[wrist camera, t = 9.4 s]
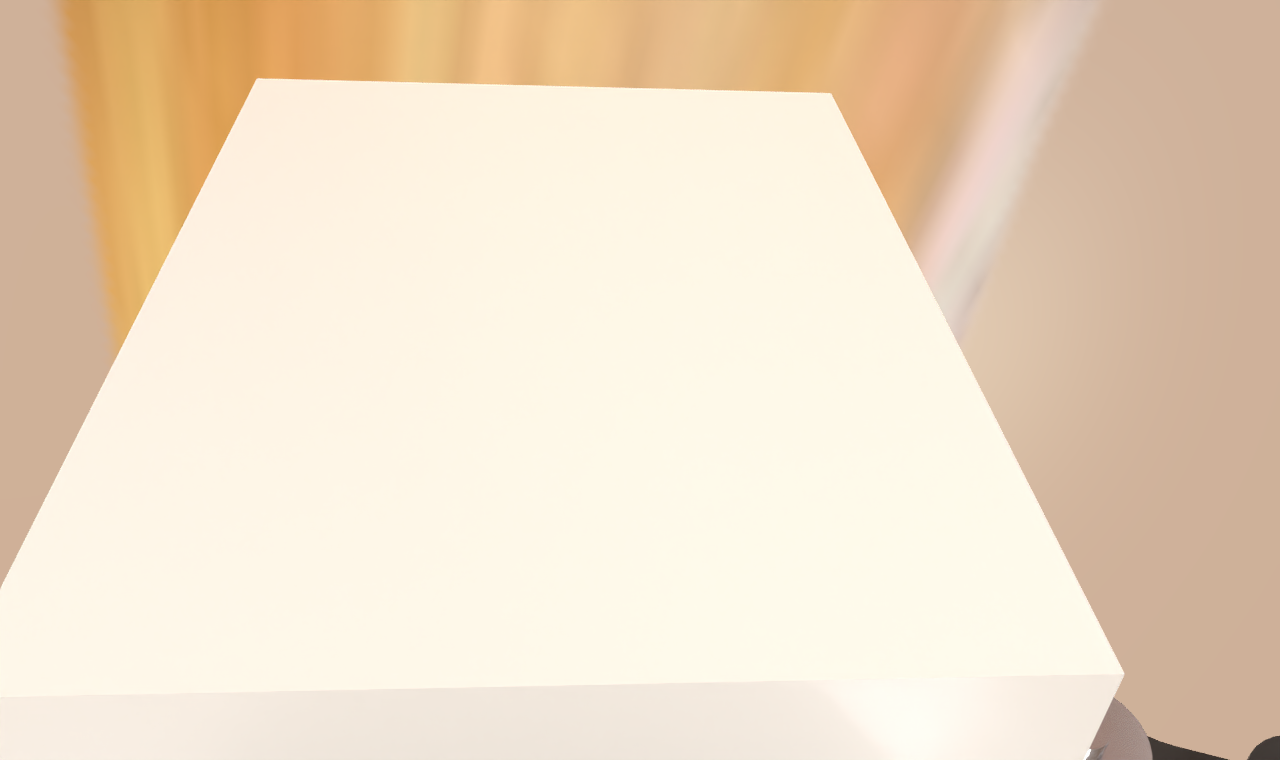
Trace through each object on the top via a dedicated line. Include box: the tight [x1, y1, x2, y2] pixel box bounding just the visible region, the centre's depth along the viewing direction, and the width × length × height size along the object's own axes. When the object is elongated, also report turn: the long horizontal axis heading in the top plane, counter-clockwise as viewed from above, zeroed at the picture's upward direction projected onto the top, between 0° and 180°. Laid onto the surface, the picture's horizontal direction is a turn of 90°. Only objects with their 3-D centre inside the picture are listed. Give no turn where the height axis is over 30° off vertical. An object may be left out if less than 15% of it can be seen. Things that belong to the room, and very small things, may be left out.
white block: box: [0, 78, 1124, 760], centre depth 12 cm, size 7×7×9 cm
